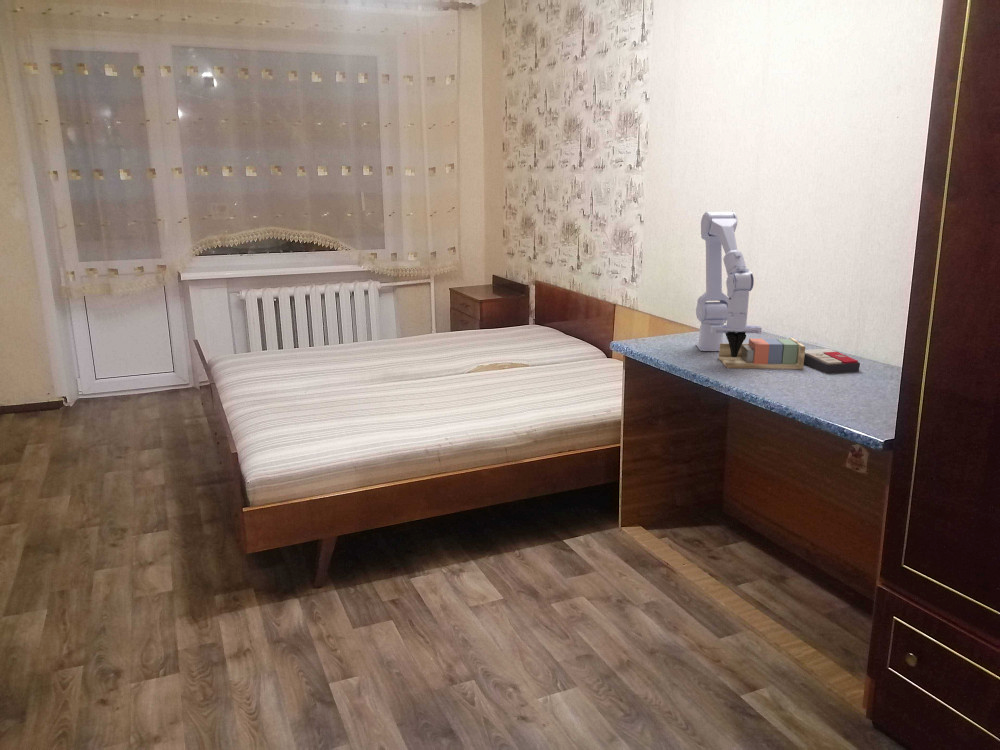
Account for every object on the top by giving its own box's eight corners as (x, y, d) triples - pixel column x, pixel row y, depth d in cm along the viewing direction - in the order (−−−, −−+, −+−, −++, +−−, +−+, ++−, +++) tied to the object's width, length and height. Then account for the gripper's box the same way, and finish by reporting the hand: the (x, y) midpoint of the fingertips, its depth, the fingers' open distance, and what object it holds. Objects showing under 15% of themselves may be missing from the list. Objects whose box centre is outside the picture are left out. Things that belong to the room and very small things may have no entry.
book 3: (774, 357, 232) (776, 338, 230) (788, 357, 232) (789, 338, 230) (782, 364, 224) (784, 344, 223) (795, 364, 224) (797, 344, 222)
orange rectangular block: (747, 357, 232) (749, 338, 231) (760, 357, 232) (762, 338, 231) (754, 363, 225) (755, 344, 223) (767, 364, 224) (769, 344, 223)
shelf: (718, 358, 235) (720, 337, 233) (791, 359, 233) (793, 337, 231) (727, 367, 223) (728, 345, 221) (803, 369, 222) (805, 346, 220)
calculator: (827, 362, 216) (797, 348, 230) (825, 376, 217) (795, 361, 231) (861, 360, 218) (829, 346, 232) (859, 374, 219) (827, 360, 233)
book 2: (760, 357, 232) (762, 338, 231) (773, 357, 232) (775, 338, 230) (767, 363, 225) (769, 344, 223) (781, 364, 224) (783, 344, 223)
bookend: (741, 357, 232) (742, 344, 231) (747, 357, 232) (748, 344, 231) (746, 363, 225) (747, 350, 224) (753, 363, 225) (754, 350, 224)
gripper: (715, 314, 222) (712, 359, 225) (765, 314, 221) (761, 359, 224) (710, 310, 229) (707, 353, 232) (759, 310, 228) (755, 354, 231)
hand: (733, 356), depth 229 cm, fingers closed
